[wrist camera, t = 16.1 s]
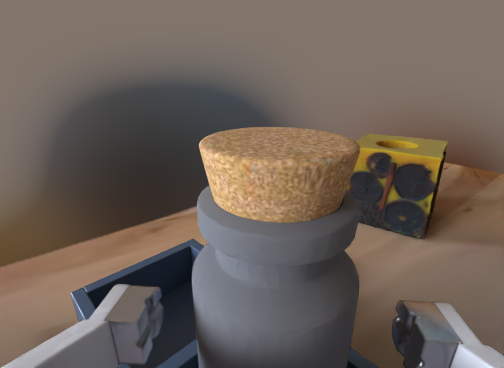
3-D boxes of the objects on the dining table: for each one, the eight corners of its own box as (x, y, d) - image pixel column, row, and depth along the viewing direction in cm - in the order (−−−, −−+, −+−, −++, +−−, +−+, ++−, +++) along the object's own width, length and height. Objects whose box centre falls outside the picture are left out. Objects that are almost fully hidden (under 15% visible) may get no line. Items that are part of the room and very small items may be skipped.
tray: (196, 278, 27) (193, 238, 25) (402, 452, 14) (421, 396, 13) (83, 340, 20) (70, 292, 19) (278, 746, 8) (285, 704, 6)
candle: (433, 210, 40) (451, 140, 36) (425, 242, 32) (447, 158, 29) (359, 194, 45) (368, 132, 42) (338, 218, 38) (347, 144, 34)
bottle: (197, 532, 11) (148, 168, 6) (214, 382, 17) (198, 123, 11) (345, 531, 11) (435, 168, 6) (314, 381, 17) (345, 123, 11)
